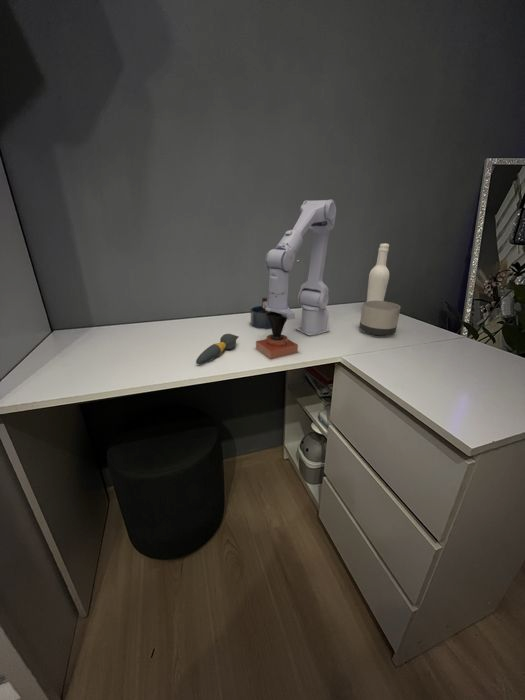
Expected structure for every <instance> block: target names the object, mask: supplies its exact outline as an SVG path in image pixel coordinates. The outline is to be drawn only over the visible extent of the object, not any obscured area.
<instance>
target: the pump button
mask: <svg viewBox="0 0 525 700" xmlns="http://www.w3.org/2000/svg"><path fill="white" fill-rule="evenodd" d="M271 334H272V335H271ZM271 334H270V335H271V339H273V340H282V339H283V335H284V334H282V333H281V336H277V337H275V336H273V333H271Z"/></svg>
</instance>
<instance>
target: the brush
mask: <svg viewBox="0 0 525 700" xmlns="http://www.w3.org/2000/svg"><path fill="white" fill-rule="evenodd" d="M261 299H262V301H261V306H262V311H259V312H258V313H270V312H269V311H266V310H265V308H263V302H266V301H268V297H262V298H261Z"/></svg>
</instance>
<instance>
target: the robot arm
mask: <svg viewBox="0 0 525 700" xmlns="http://www.w3.org/2000/svg"><path fill="white" fill-rule="evenodd" d="M336 215H337V205H336V203H335V201H334V199H333V198H332V199H321V200H319V199H318V200H309V199H306V200H304V201H303V202H302V204H301V206H300V210H299V217H298V218H297V221H296V222H295V224H294V226H293V228H292V229H288V230H286V231H285V233H284V235H283V236H282V238H281V239H280V240H279V242H278V243H277V245H276V246H275V248H272V249H270V250H269V251H268V252H267V253H266V255H265V259H264V266H265V268H266V275H267V276H268V298H267V301H266V302H263V308H265V310H266V311H271V312H270V313H267V314H266V316H267V317H268V319H269V322H270V325H271V328H270V329H271V332H272V333H271V334H273V336H275V337H277V336H281V334H282V333H283V329H284V327H285V325H286V322H287V321H291V320H294V319H295V315H296V313H295V312H294V311H293V310H291V308H290V307H289V306H288V305H289V304H288V303H289V302H288V301H289V281H290V280H289V279H290V278H289V277H290V271H291V270H292V269H293V267H294V263H295V262H294V261H295V260H296V254H297V252H298V251H299V250H300V248H301V247H302V245H303V242H304V240H303V236H304V235H305V234H306V233H307V232H308V230H309V229H310V230H312V233H313V239H312V246H311V253H310V261H309V268H308V276H307V280H306V281H304V282H303V283H302V284H301V285H300V289H299V292H298V294H297V302H298V304H299V306H300V308H301V323H300V324H301V325H300V327H296V328H295V330H296V331H298V332H300V333H302V334H304V335H306V336H309V337H311V336H314V335H319V334H323V333H324V334H325V333H329V329H328V325H329V311H328V309H327V306H328V303H329V299H330V297H329V291H330V290H329V287H328V286H327V284H326V283H324V281H323V277H324V271H325V265H326V257H327V250H328V244H329V238H330V237H329V236H330V232H331V230H333V229H334V228H335V223H336V217H337V216H336Z"/></svg>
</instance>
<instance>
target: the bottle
mask: <svg viewBox="0 0 525 700" xmlns="http://www.w3.org/2000/svg"><path fill="white" fill-rule="evenodd" d="M389 247H390V244H389V243H380V244H379V248H378V250H377V251H378V252H377V259H376V264H375V265H374V266H373V267H372V268H371V270H370V272H369V274H368V282H367V295H366V301H385V297H386V293H387V288H388V285H389V280H390V271H389V268H388V267H387V261H388V260H387V259H388V253H389V250H390V249H389Z"/></svg>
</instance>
